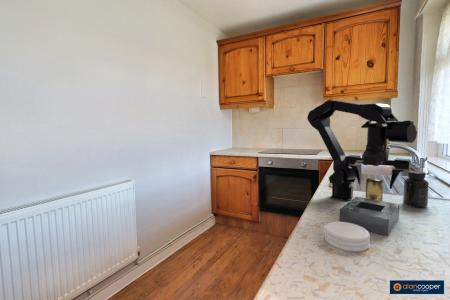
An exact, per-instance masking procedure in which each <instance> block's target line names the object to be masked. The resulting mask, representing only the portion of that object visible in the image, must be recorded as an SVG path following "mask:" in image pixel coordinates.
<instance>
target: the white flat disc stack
mask: <svg viewBox="0 0 450 300" xmlns="http://www.w3.org/2000/svg"><path fill="white" fill-rule="evenodd" d="M370 236H371V235H370V232H369V231H367V230H366V229H365V228H363V227H361V226H359V225H356V224H352V223H347V222H339V221H332V222H329V223H327V224H326V225H325V226H324V240H325V242H326V243H328V245H330V246H332V247H333V248H336V249H338V250H342V251H345V252H353V253H357V252H359V253H360V252H365V251H367V250H368V249H369V248H370V241H371V240H370Z"/></svg>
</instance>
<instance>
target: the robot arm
mask: <svg viewBox="0 0 450 300" xmlns="http://www.w3.org/2000/svg"><path fill="white" fill-rule="evenodd" d="M336 111H338V112H343V113H348V114H352V115H356V116H359V117H360V118H362V119H364V120H367V121H366V122H365V123H363V124H362V125H361V126H360V127H361V128H362V129H367V135H366V136H367V137H366V138H367V139H366V146H365V150H364V151H363V153H362V155H355V154H349V155H346V154H345V152H344V149H343V148H342V145H340V142H339V140H338V138H337V137H336V135H335V132H334V131H333V129H332V128H331V117H332V116H333V115H334V113H335V112H336ZM306 118H307V122H308V123H309V125H310V126H311V127H312V128H314V129H315V130H316V131H318V134H319V136H320V137H321V139H322V141H323V143H324V145H325V147H326V149H327V151H328V153H329V155H330V157H331V158H332V162H333V163H332V164H333V165H332V169H333V173H332V174H331V175H329V176H328V181H329V183H330V184H332V186H331V188H332V189H331V196H330V198H331V199H334V200H335V199H336V200H339V201H345V202H349V200H350V201H351V200H352V198H353V199H354V193H353V192H354V187H353V184H352V183H355V182H356V180H357V182H358V185H361V184H362V178H363V177H362V165H364V166H373V167H379V166H380V165H381V166H390V167H392V166H393V168H392V169H391V177H390V180H389V181H390V182H389V190H392V189H393V187H394V184H395V183H396V180H397V178H398V176H399V175H400V174H401V173H403V172H405V171H406V170H409V171H410V169H411V168H412V160H411V159H410V158H401V157H400V158H399V157H397V158H395V159H389V151H388V150H387V148H388V142H390V143H400V144H401V143H405V144H412V143H414V142H416V139H417V137H418V135H417V134H418V131H417V128H416V126H415V123H414V120H403V121H401V120H400V121H399V120H398V119H397V116H395V115H394V113H393V110H392V108H391V106H390V105H389V104H385V103H356V102H349V101H343V100H338V99H331V98H330V99H327V100H325V102H323V103H322V104H320V105H318V106H316V107H314V108H313V109H312V110H309V112H308V113H307V117H306Z"/></svg>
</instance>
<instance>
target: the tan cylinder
mask: <svg viewBox="0 0 450 300" xmlns="http://www.w3.org/2000/svg"><path fill="white" fill-rule="evenodd" d="M365 180H366V181H365V197H364V198H368V199H373V200H379V201H383V195H384V179H382V178H377V177H366V179H365Z"/></svg>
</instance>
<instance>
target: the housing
mask: <svg viewBox="0 0 450 300" xmlns="http://www.w3.org/2000/svg"><path fill="white" fill-rule="evenodd" d="M400 205H401V204H400V203H396V202H389V201H384V200H382V201H379V200H373V199H368V198H365V197H361V196H355V197H353V199H352V198H351V199H350V201H347V203H345V204H344V205H343V206H342V207H340V209H339V220H338V222H347V223H352V224H356V225H359V226H361V227H363V228H365V229H366V230H367V231H368V232H369V233H374V234H378V235H382V236H386V237H389V235H390V234H391V232H392V230H393V229H394V227H395V226H396V224H397V222H398V220H399V219H400Z"/></svg>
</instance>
